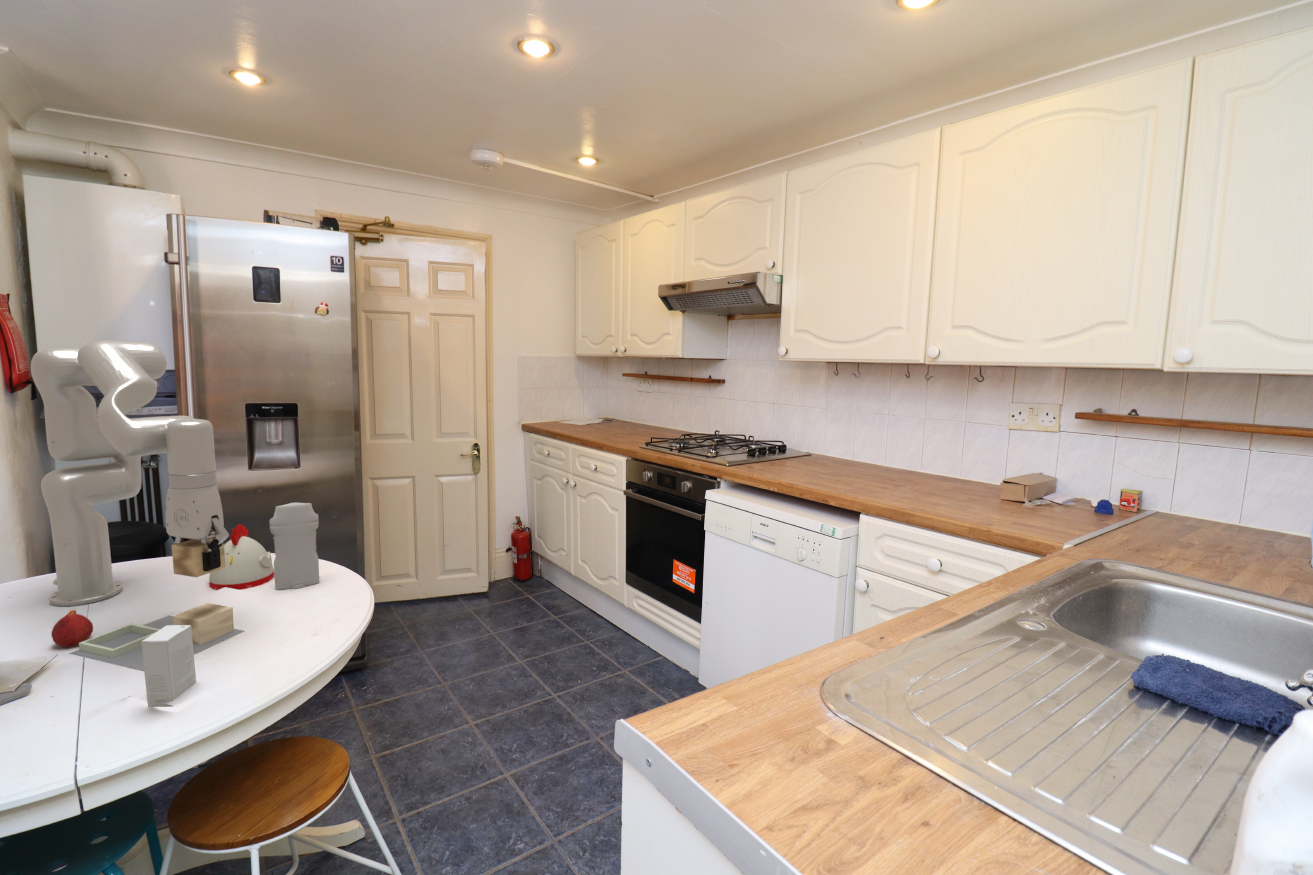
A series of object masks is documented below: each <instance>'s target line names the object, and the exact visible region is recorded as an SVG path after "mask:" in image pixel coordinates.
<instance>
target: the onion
mask: <svg viewBox="0 0 1313 875" xmlns="http://www.w3.org/2000/svg"><path fill="white" fill-rule="evenodd" d="M93 631H94V625H93V622H92V621H91V620H90V619H89V618H88V617H87V616H85V615H83V614H80V613H77V610H76V609H71V610H69V611H68V612H67V613H66V614H65V615H64V616H62V617H61V618H60V619H59V620H58V621H56V623H55V624H54V626H53V627H52V630H51V634H50V636H51V639H52V641H53V643H54V644H55V645H57V646H59V647H60V648H61V647H62V648H71V647H75V646H79V643H80V642H83V641H85V640H88V639H90V638H91V636H92V633H93Z"/></svg>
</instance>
